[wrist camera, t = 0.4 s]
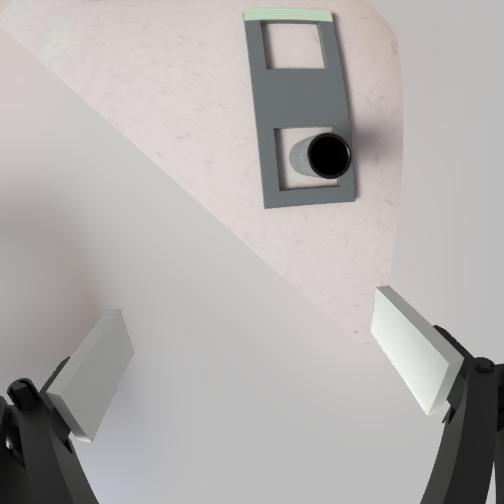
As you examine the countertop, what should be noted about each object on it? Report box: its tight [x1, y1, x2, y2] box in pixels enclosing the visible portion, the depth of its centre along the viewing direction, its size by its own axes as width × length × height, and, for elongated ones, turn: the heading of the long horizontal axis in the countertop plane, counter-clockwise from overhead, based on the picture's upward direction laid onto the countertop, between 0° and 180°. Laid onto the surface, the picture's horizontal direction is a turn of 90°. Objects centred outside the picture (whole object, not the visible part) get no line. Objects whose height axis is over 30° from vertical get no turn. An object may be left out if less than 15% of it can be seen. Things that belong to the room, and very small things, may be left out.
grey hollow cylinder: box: [289, 133, 352, 179], centre depth 30 cm, size 4×4×10 cm
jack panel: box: [243, 8, 355, 209], centre depth 32 cm, size 28×12×1 cm, turn 6°
